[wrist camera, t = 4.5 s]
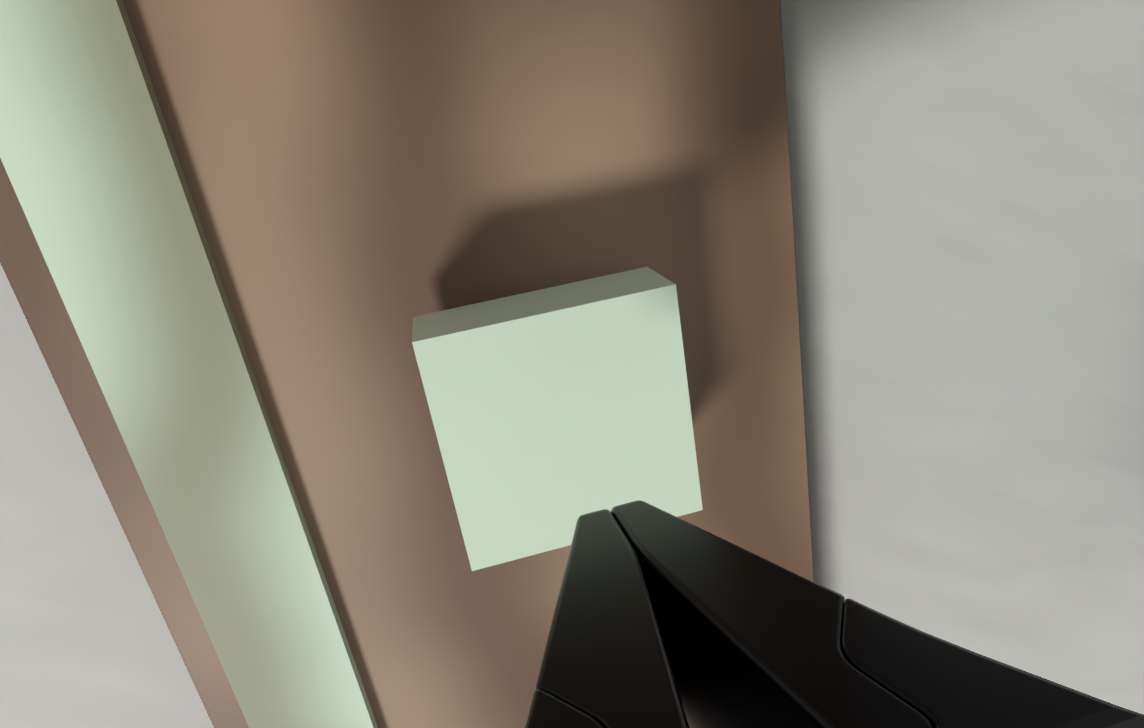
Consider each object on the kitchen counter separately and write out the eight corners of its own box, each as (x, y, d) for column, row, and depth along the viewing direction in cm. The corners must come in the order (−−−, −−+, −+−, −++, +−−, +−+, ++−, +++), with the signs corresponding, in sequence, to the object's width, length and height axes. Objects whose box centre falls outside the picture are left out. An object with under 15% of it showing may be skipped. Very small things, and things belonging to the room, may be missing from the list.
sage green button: (647, 266, 13) (675, 284, 12) (674, 471, 15) (702, 509, 13) (412, 317, 13) (411, 342, 11) (466, 524, 14) (471, 571, 13)
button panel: (696, -476, 12) (755, -607, 10) (791, 739, 22) (831, 806, 20) (-221, -411, 10) (-392, -556, 8) (331, 885, 20) (321, 976, 18)
